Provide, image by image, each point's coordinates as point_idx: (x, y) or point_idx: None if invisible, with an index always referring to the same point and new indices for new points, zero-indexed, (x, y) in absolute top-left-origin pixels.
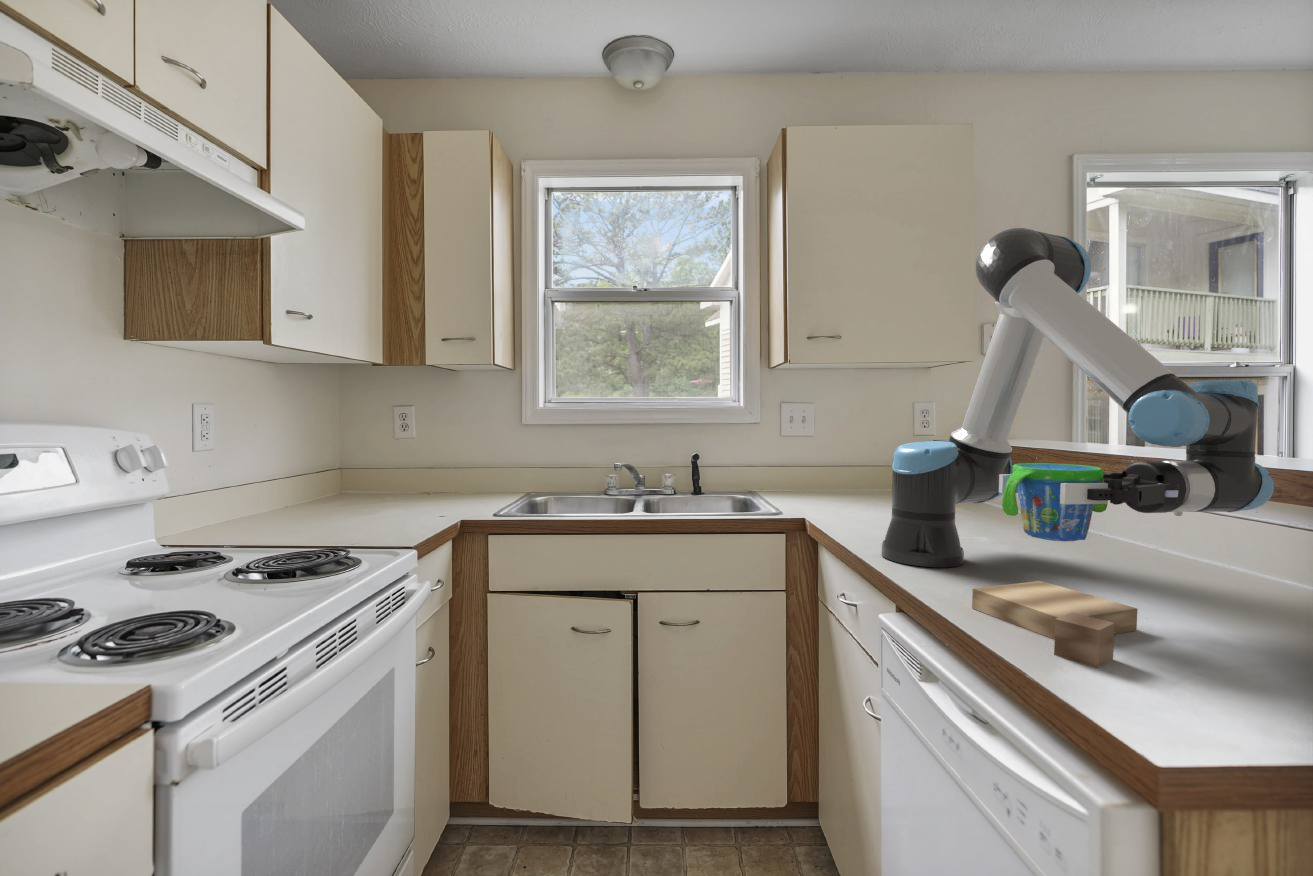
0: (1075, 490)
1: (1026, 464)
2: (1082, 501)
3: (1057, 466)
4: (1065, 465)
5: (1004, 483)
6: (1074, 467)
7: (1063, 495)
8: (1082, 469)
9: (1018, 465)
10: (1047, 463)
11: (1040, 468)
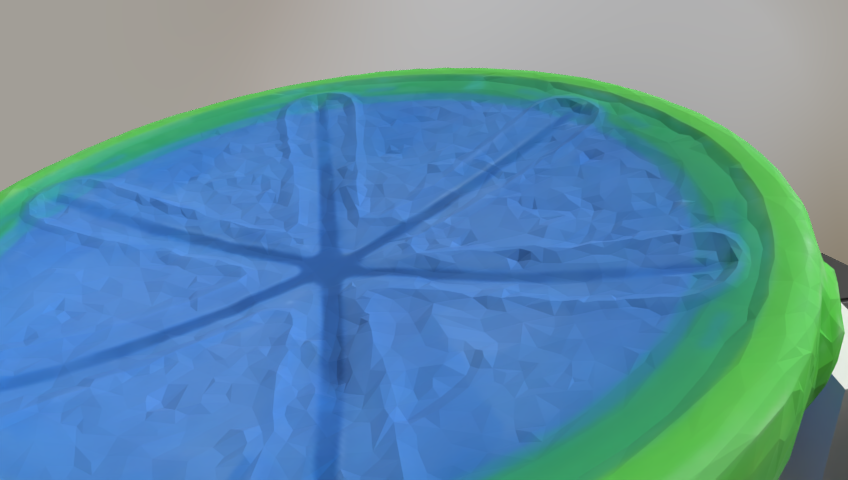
0: None
1: (676, 134)
2: None
3: (617, 337)
4: (629, 419)
5: None
6: (421, 468)
7: None
8: (186, 463)
9: (545, 91)
10: (788, 265)
11: (547, 211)
